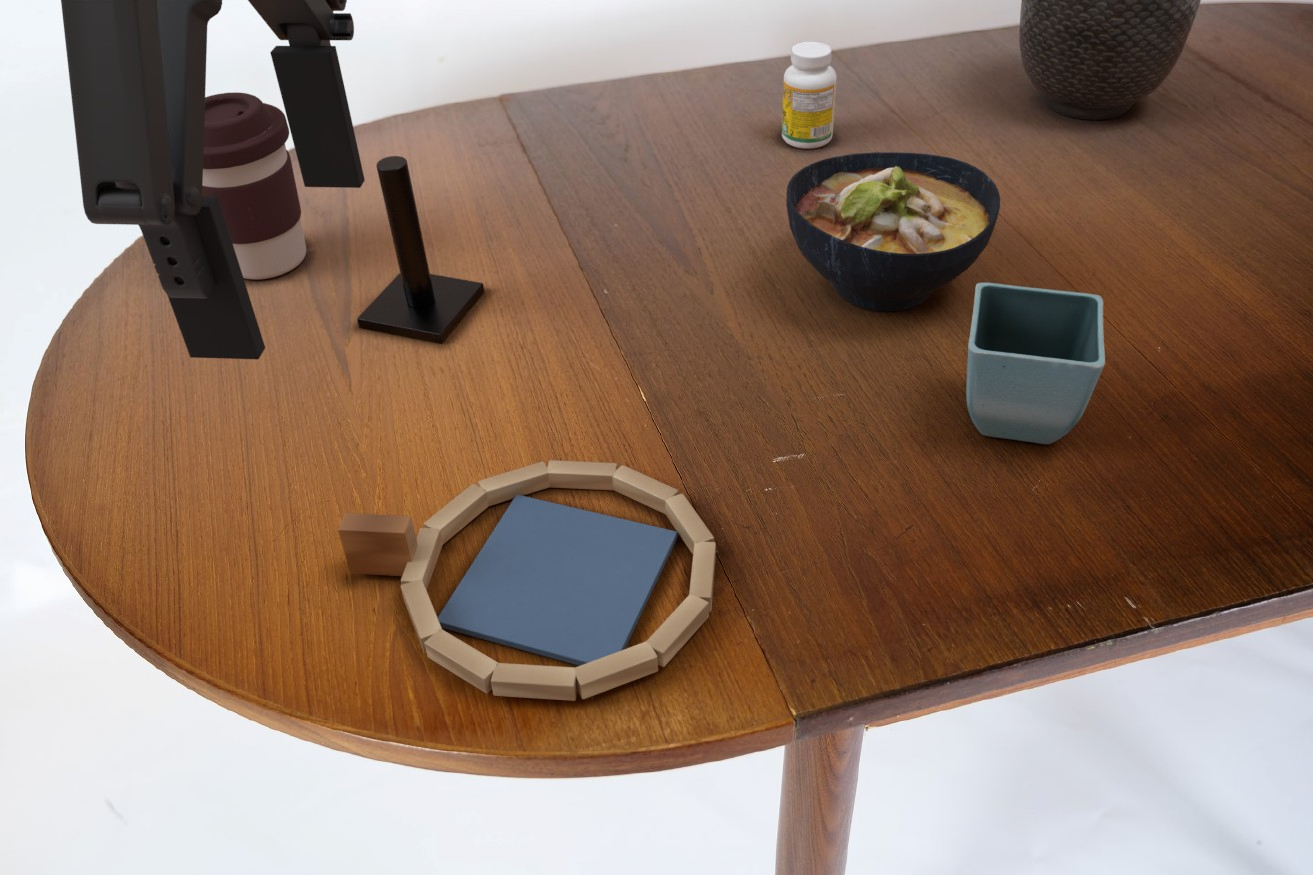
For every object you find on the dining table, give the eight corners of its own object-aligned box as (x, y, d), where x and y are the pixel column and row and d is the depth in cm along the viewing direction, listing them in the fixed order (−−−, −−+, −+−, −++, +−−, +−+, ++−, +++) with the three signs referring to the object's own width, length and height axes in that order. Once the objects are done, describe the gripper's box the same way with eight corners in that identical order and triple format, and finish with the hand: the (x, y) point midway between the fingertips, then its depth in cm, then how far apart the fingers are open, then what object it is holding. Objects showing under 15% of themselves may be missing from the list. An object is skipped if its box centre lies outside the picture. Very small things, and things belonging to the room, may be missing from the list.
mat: (613, 675, 68) (612, 669, 68) (436, 626, 71) (435, 620, 71) (678, 537, 76) (677, 531, 76) (517, 499, 80) (516, 493, 79)
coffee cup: (191, 268, 105) (135, 116, 95) (276, 222, 110) (232, 74, 101) (258, 302, 100) (207, 146, 90) (344, 252, 106) (304, 100, 96)
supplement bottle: (825, 153, 117) (831, 62, 110) (775, 146, 118) (778, 57, 112) (837, 130, 120) (844, 41, 114) (788, 124, 122) (792, 36, 116)
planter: (1162, 74, 127) (1201, -75, 117) (1178, 144, 115) (1224, -16, 104) (1004, 66, 131) (1028, -80, 120) (1003, 133, 118) (1030, -23, 108)
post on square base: (442, 344, 94) (411, 194, 85) (358, 328, 96) (320, 180, 87) (484, 292, 100) (460, 146, 91) (405, 278, 102) (373, 134, 93)
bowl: (1018, 324, 93) (1040, 218, 86) (817, 357, 91) (825, 250, 84) (937, 221, 106) (951, 121, 99) (759, 248, 103) (762, 147, 97)
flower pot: (959, 376, 88) (976, 279, 82) (1077, 392, 86) (1103, 293, 80) (950, 449, 82) (967, 349, 76) (1077, 468, 80) (1105, 367, 74)
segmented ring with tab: (303, 684, 67) (287, 639, 65) (394, 467, 83) (385, 424, 80) (703, 709, 65) (703, 664, 63) (722, 482, 80) (722, 438, 78)
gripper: (31, -266, 25) (271, 453, 39) (355, -379, 44) (439, 131, 58) (-282, -259, 26) (63, 445, 39) (170, -374, 45) (297, 130, 58)
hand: (287, 260), depth 49 cm, fingers open, 13 cm apart
